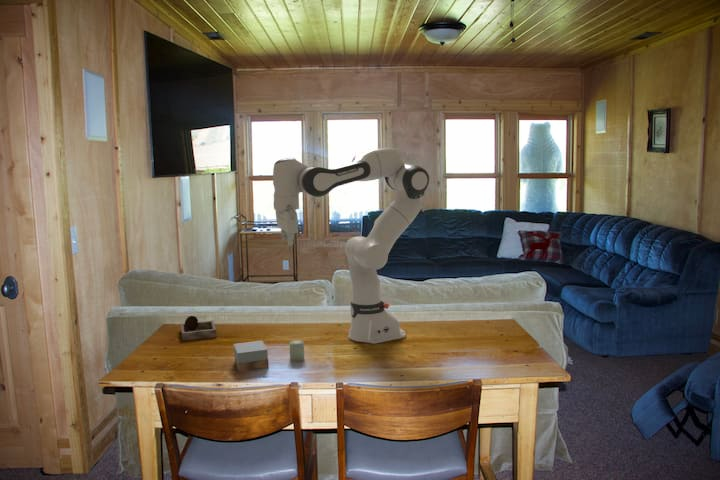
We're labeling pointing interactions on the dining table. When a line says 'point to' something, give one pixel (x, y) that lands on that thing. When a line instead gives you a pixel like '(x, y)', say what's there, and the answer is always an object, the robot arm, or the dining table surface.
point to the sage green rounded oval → (296, 351)
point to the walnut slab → (252, 365)
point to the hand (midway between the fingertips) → (287, 242)
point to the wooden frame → (201, 333)
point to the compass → (191, 323)
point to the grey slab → (250, 351)
